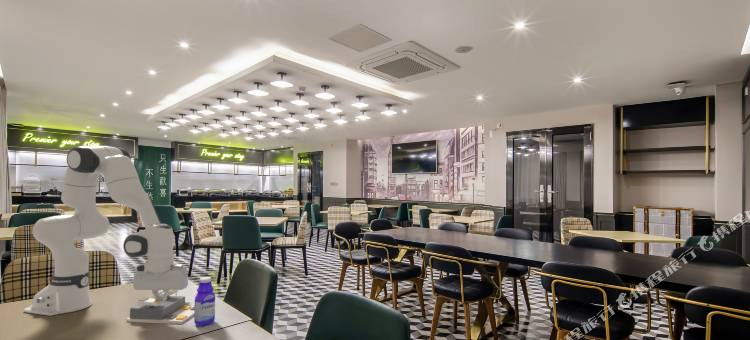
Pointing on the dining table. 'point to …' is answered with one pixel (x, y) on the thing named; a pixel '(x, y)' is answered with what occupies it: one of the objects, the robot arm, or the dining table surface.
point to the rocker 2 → (168, 293)
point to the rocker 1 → (149, 302)
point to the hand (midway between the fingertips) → (161, 300)
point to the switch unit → (163, 312)
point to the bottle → (204, 303)
